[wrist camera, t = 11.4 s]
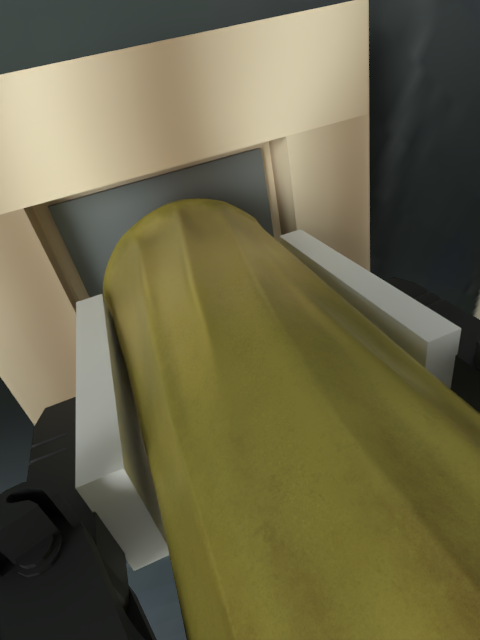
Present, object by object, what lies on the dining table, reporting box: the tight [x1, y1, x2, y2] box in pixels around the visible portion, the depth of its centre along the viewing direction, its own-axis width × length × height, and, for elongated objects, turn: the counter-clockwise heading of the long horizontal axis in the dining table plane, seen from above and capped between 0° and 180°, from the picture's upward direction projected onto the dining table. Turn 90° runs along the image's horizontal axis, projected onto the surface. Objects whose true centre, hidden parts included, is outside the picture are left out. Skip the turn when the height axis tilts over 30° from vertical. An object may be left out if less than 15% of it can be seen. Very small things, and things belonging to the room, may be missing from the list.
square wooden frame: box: [0, 0, 370, 425], centre depth 15 cm, size 14×14×4 cm
